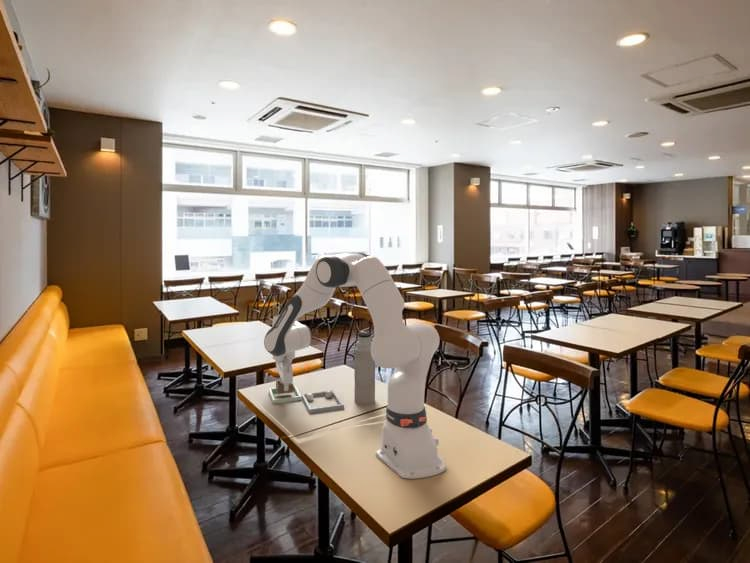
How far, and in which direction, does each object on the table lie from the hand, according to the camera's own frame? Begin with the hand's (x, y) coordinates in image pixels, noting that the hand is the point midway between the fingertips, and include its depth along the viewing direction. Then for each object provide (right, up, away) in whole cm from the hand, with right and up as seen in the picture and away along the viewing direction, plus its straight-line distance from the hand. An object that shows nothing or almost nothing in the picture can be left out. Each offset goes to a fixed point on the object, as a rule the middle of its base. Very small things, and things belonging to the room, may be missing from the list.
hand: (284, 387), depth 177 cm
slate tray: (+16, -6, -6) cm, 18 cm away
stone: (0, -1, 0) cm, 1 cm away
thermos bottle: (+32, -6, -5) cm, 33 cm away
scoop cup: (0, -2, 0) cm, 2 cm away
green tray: (0, -5, 0) cm, 5 cm away
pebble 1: (+11, -5, -4) cm, 12 cm away
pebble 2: (+18, -4, -1) cm, 18 cm away
